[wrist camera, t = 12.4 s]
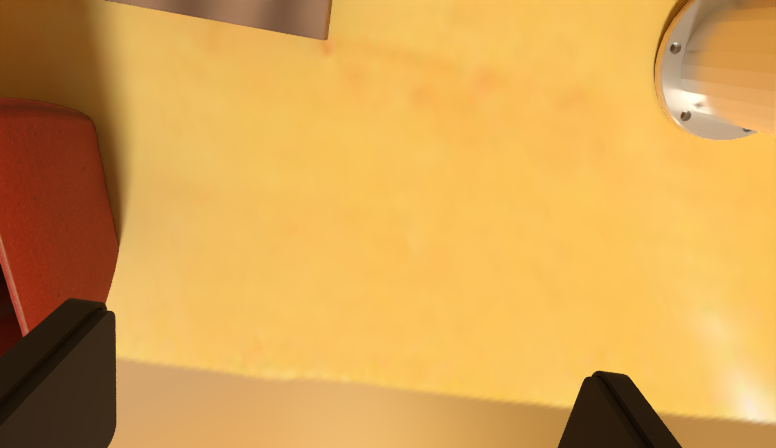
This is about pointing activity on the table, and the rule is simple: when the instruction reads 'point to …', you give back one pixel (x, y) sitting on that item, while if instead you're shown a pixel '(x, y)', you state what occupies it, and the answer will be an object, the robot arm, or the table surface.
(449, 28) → the table surface
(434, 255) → the table surface
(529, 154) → the table surface
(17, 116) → the plant pot
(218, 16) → the condiment stand
